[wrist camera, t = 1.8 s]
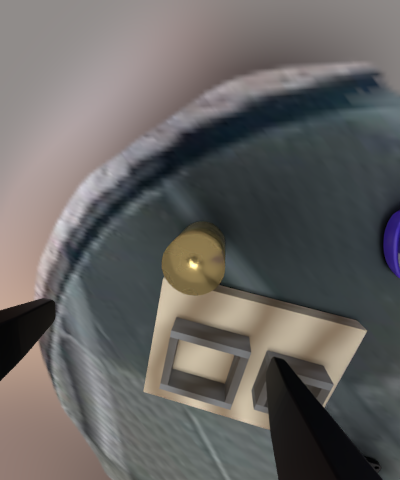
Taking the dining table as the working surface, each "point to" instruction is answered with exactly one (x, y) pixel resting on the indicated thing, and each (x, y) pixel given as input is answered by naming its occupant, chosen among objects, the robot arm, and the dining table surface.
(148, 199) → the dining table surface
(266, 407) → the board
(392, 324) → the dining table surface
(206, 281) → the cylinder
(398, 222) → the bottle
